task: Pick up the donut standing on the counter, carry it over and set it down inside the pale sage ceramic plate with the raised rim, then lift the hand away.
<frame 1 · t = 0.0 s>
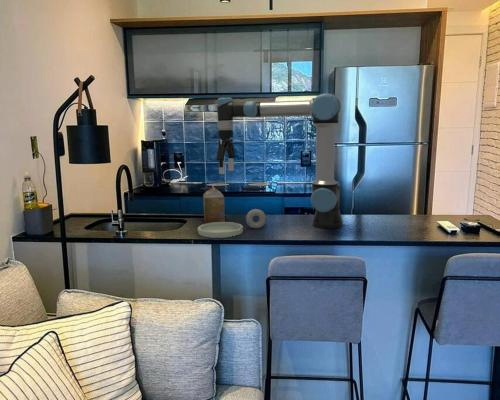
hand: (226, 172, 214), 28 cm above the table, tool pointing down, fingers open, 13 cm apart
plate: (220, 232, 208), on the table
milk carton: (214, 221, 232), on the table
donut: (256, 228, 214), on the table
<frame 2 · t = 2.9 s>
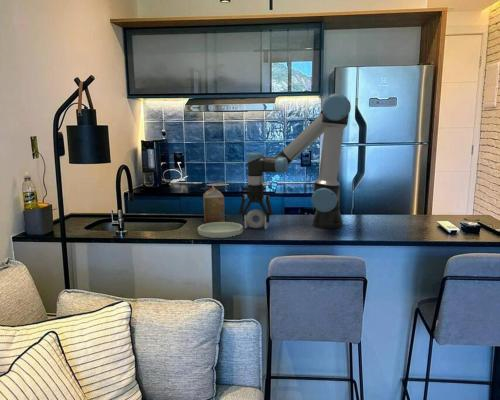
hand: (256, 227, 214), 0 cm above the table, tool pointing down, fingers closed on donut, 10 cm apart
donut: (256, 228, 214), on the table, touching gripper
everything else where it was.
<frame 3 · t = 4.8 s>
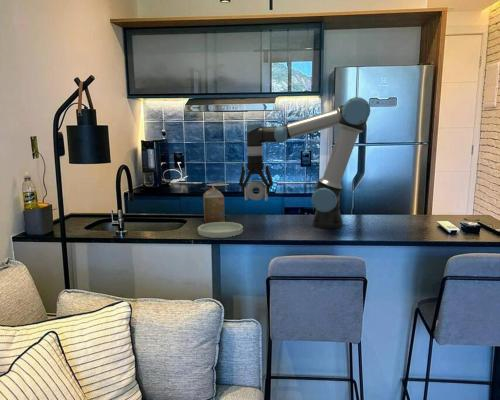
hand: (256, 200, 211), 15 cm above the table, tool pointing down, fingers closed on donut, 10 cm apart
donut: (256, 200, 211), point 14 cm above the table, touching gripper
everything else where it was.
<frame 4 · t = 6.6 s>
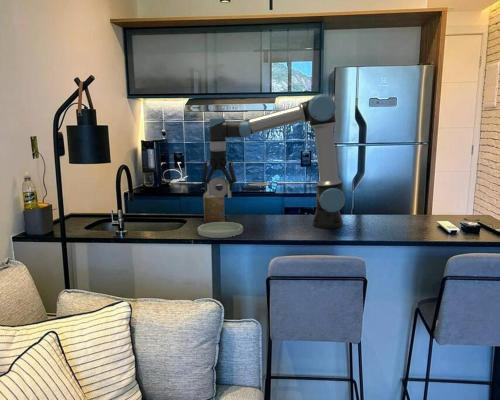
hand: (219, 196, 205), 17 cm above the table, tool pointing down, fingers closed on donut, 10 cm apart
donut: (219, 197, 205), point 17 cm above the table, touching gripper
everything else where it was.
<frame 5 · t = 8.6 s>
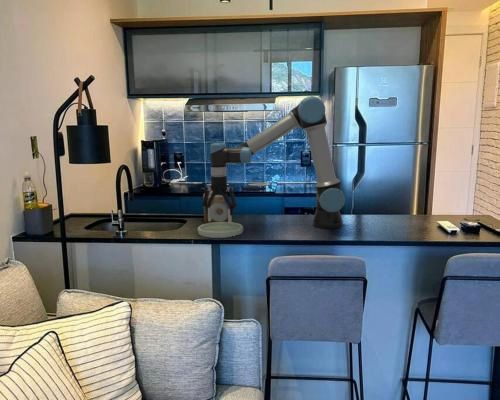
hand: (220, 221, 207), 5 cm above the table, tool pointing down, fingers closed on donut, 10 cm apart
donut: (220, 221, 207), point 5 cm above the table, touching gripper
everything else where it was.
when the fingers open (3 cm above the table, at t = 10.2 s): donut drops 1 cm, resting on plate.
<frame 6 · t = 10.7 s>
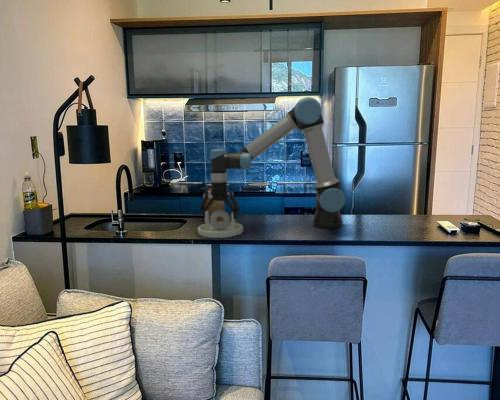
hand: (220, 224, 207), 4 cm above the table, tool pointing down, fingers open, 13 cm apart
donut: (220, 230, 208), point 1 cm above the table, touching plate
everything else where it was.
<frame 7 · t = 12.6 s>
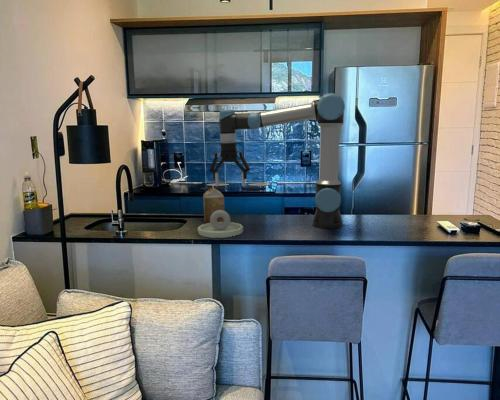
hand: (230, 185, 209), 22 cm above the table, tool pointing down, fingers open, 13 cm apart
nothing on the table moved.
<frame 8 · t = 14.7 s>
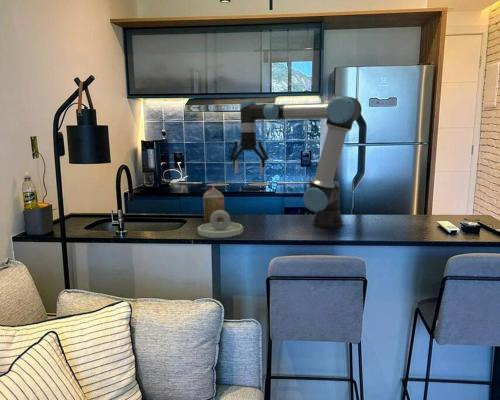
hand: (249, 173, 220), 27 cm above the table, tool pointing down, fingers open, 13 cm apart
nothing on the table moved.
at the end: donut inside the target area on the plate (0.1 cm from its centre), point 0.8 cm above the plate's base; donut touching plate; the gripper is holding nothing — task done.
